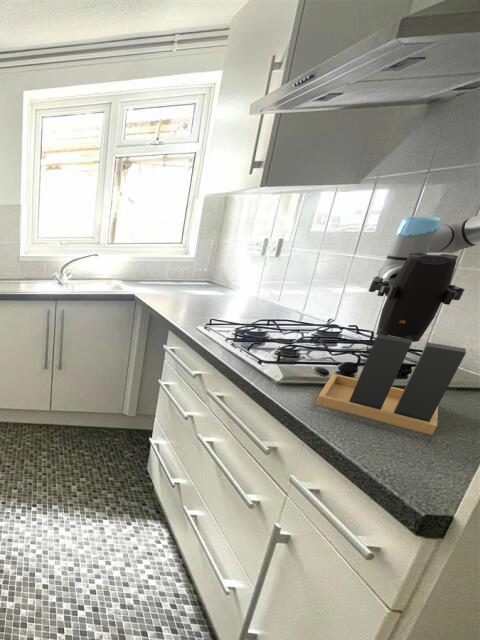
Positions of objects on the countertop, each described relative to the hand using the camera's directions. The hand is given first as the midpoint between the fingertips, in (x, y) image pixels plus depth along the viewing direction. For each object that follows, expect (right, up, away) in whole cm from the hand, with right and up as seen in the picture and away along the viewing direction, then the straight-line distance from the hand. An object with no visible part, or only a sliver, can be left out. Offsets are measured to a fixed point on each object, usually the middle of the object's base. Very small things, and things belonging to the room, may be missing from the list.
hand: (420, 295), depth 94 cm
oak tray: (-13, -25, -3) cm, 29 cm away
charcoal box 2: (-14, -28, -10) cm, 32 cm away
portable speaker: (+3, -9, +8) cm, 12 cm away
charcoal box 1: (-18, -26, -5) cm, 32 cm away
